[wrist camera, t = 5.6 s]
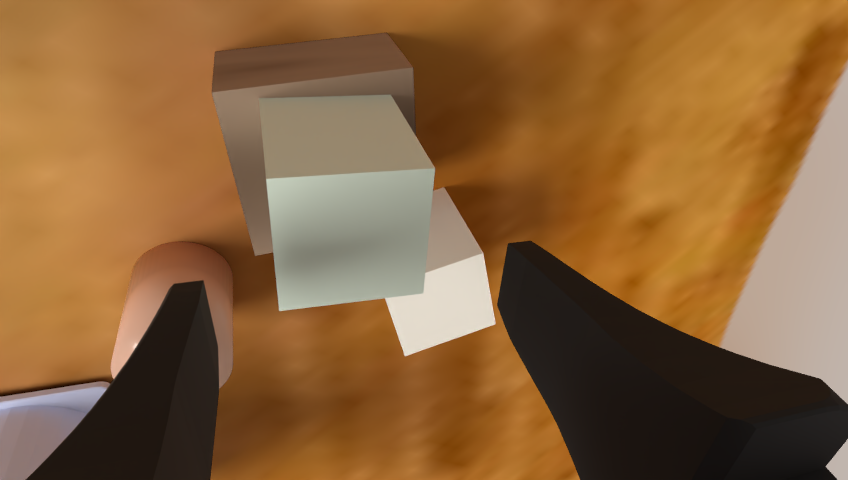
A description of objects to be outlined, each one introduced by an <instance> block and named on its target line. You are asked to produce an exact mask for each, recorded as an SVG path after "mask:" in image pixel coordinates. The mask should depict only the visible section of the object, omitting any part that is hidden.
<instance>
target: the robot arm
mask: <svg viewBox="0 0 848 480" xmlns="http://www.w3.org/2000/svg"><path fill="white" fill-rule="evenodd" d="M497 306H498V308H499V311H500V314H501V316H502V319H503V322H504V325H505V327H506V329H507V332H508V334H509V337H510V339H511V341H512V343H513V345H514V347H515V349H516V350H517V352H518V354H519V356H520V358H521V359H522V361H523V363H524V365H525V367H526V368H527V370H528V372H529V374H530V376H531V377H532V379H533V381H534V383H535V384H536V386H537V388H538V390H539V392H540V393H541V395H542V397H543V399H544V400H545V402H546V404H547V406H548V408H549V409H550V411H551V413H552V415H553V417H554V419H555V421H556V423H557V425H558V427H559V429H560V432H561V434H562V436H563V439H564V441H565V443H566V446H567V448H568V450H569V453H570V455H571V457H572V460H573V462H574V465H575V467H576V470H577V472H578V475H579V477H580V480H837V479H836V478H835V477H834V475H833V474H831V472H830V471H829V470H828V469H827V468H826V467H825V466H826V465H827V464H828V463H829V461H830V460H831V459H832V458H833V456H834V455H835V454H836V453H837V451H838V450H839V449H840V448H841V447H842V445H843V444H844V443H845V442H846V440H847V439H848V404H847V403H846V402H845V401H844V400H842V399H841V398H840V397H839V396H838V395H837V394H836V393H835V392H834V391H833V390H832V389H831V388H830V387H829V386H828V385H827V384H826V383H824V382H823V381H822V380H821V379H819V378H815V377H812V376H808V375H805V374H801V373H798V372H793V371H790V370H787V369H783V368H779V367H776V366H772V365H769V364H766V363H763V362H760V361H756V360H754V359H751V358H748V357H745V356H741V355H739V354H736V353H733V352H730V351H728V350H725V349H722V348H720V347H717V346H714V345H712V344H710V343H707V342H705V341H702V340H700V339H698V338H695V337H693V336H690V335H688V334H686V333H684V332H681V331H679V330H677V329H675V328H673V327H671V326H669V325H667V324H665V323H663V322H661V321H659V320H657V319H655V318H653V317H651V316H649V315H647V314H645V313H643V312H641V311H639V310H638V309H636V308H634V307H632V306H631V305H629V304H627V303H625V302H624V301H622V300H620V299H619V298H617V297H615V296H614V295H612V294H610V293H609V292H607V291H606V290H604V289H602V288H601V287H599V286H598V285H596V284H595V283H593V282H591V281H590V280H588V279H587V278H585V277H584V276H582V275H581V274H579V273H578V272H577V271H575V270H574V269H572V268H571V267H569V266H568V265H566V264H565V263H563V262H562V261H560V260H559V259H558V258H556V257H555V256H553V255H552V254H550V253H549V252H547V251H546V250H544V249H543V248H541V247H540V246H538V245H536V244H535V243H533V242H532V241H525V242H516V243H508V247H507V252H506V258H505V264H504V269H503V275H502V281H501V286H500V292H499V298H498V303H497ZM218 395H219V357H218V343H217V339H216V334H215V330H214V325H213V321H212V316H211V312H210V307H209V303H208V298H207V293H206V289H205V284H204V280H200V281H192V282H184V283H175V284H173V285H172V286H171V287H170V288H169V290H168V292H167V294H166V296H165V298H164V300H163V302H162V304H161V306H160V308H159V309H158V311H157V313H156V315H155V317H154V318H153V320H152V322H151V323H150V325H149V327H148V329H147V330H146V332H145V333H144V335H143V337H142V338H141V340H140V341H139V343H138V345H137V346H136V348H135V349H134V351H133V353H132V354H131V356H130V357H129V359H128V360H127V362H126V363H125V364H124V366H123V367H122V369H121V370H120V371H119V373H118V374H117V376H116V377H115V378H114V380H113V381H112V382H111V384H110V383H108V382H104V381H100V382H93V383H86V384H80V385H73V386H67V387H60V388H54V389H48V390H41V391H35V392H28V393H22V394H15V395H9V396H2V397H0V480H210V476H211V466H212V456H213V446H214V436H215V426H216V416H217V406H218Z"/></svg>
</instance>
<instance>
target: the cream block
mask: <svg viewBox="0 0 848 480" xmlns="http://www.w3.org/2000/svg"><path fill="white" fill-rule="evenodd" d="M385 299H386V302H387V305H388V308H389V311H390V314H391V317H392V320H393V323H394V326H395V329H396V331H397V334H398V337H399V340H400V343H401V346H402V349H403V352H404V355H405V356H407V355H410V354H413V353H416V352H418V351H421V350H424V349H427V348H430V347H433V346H435V345H438V344H441V343H444V342H447V341H449V340H452V339H455V338H458V337H461V336H464V335H466V334H469V333H472V332H475V331H478V330H480V329H483V328H486V327H489V326H492V325H495V318H494V312H493V306H492V301H491V295H490V289H489V283H488V278H487V272H486V266H485V260H484V255H483V252H482V250H481V249H480V247H479V245H478V243H477V242H476V240H475V238H474V237H473V235H472V233H471V232H470V230H469V228H468V227H467V225H466V223H465V221H464V220H463V218H462V216H461V215H460V213H459V211H458V210H457V208H456V206H455V205H454V203H453V201H452V199H451V198H450V196H449V194H448V193H447V191H446V189H445V188H444V187H443V188H440V189H437V190H434V191H433V196H432V207H431V217H430V228H429V239H428V250H427V260H426V271H425V282H424V292H423V294H415V295H407V296H399V297H391V298H385Z"/></svg>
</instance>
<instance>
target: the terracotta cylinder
mask: <svg viewBox="0 0 848 480" xmlns="http://www.w3.org/2000/svg"><path fill="white" fill-rule="evenodd" d="M200 280H204V284H205V289H206V293H207V298H208V303H209V307H210V312H211V316H212V321H213V325H214V330H215V334H216V339H217V343H218V357H219V388H220V387H222V386H223V385H224V383H225V382H226V381H227V380H228V378H229V376H230V374H231V372H232V368H233V274H232V271H231V268H230V266H229V264H228V263H227V261H226V260H225V259H224V258H223V257H222V256H221V255H220V254H219V253H217V252H216V251H214V250H213V249H211V248H209V247H206V246H204V245H201V244H197V243H191V242H171V243H166V244H162V245H159V246H156V247H154V248H152V249H150V250H149V251H147V252H146V253H144V254H143V255H142V256H141V257H140V258H139V259H138V260H137V262H136V263H135V265H134V267H133V270H132V273H131V278H130V282H129V287H128V291H127V295H126V300H125V304H124V309H123V313H122V317H121V322H120V326H119V330H118V335H117V339H116V344H115V348H114V352H113V357H112V361H111V373H112V377H113V379H114V378H115V377H116V376H117V374H118V373H119V371H120V370H121V369H122V367H123V366H124V364H125V363H126V362H127V360H128V359H129V357H130V356H131V354H132V353H133V351H134V349H135V348H136V346H137V345H138V343H139V341H140V340H141V338H142V337H143V335H144V333H145V332H146V330H147V329H148V327H149V325H150V323H151V322H152V320H153V318H154V317H155V315H156V313H157V311H158V309H159V308H160V306H161V304H162V302H163V300H164V298H165V296H166V294H167V292H168V290H169V288H170V287H171V286H172V285H173V284H175V283H184V282H192V281H200Z"/></svg>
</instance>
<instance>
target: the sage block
mask: <svg viewBox="0 0 848 480" xmlns="http://www.w3.org/2000/svg"><path fill="white" fill-rule="evenodd" d="M259 105H260V117H261V128H262V139H263V150H264V161H265V172H266V183H267V193H268V203H269V213H270V223H271V233H272V243H273V254H274V264H275V274H276V284H277V294H278V304H279V311H284V310H293V309H301V308H309V307H317V306H325V305H333V304H342V303H350V302H358V301H366V300H374V299H383V298H391V297H399V296H407V295H415V294H423V292H424V282H425V271H426V260H427V250H428V239H429V228H430V217H431V207H432V196H433V185H434V175H435V167H434V166H433V164H432V162H431V161H430V159H429V157H428V156H427V154H426V152H425V151H424V149H423V147H422V146H421V144H420V142H419V141H418V139H417V137H416V136H415V134H414V132H413V131H412V129H411V127H410V126H409V124H408V122H407V121H406V119H405V117H404V116H403V114H402V112H401V111H400V109H399V107H398V106H397V104H396V103H395V101H394V99H393V98H392V96H391V95H360V96H324V97H287V98H259Z"/></svg>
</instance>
